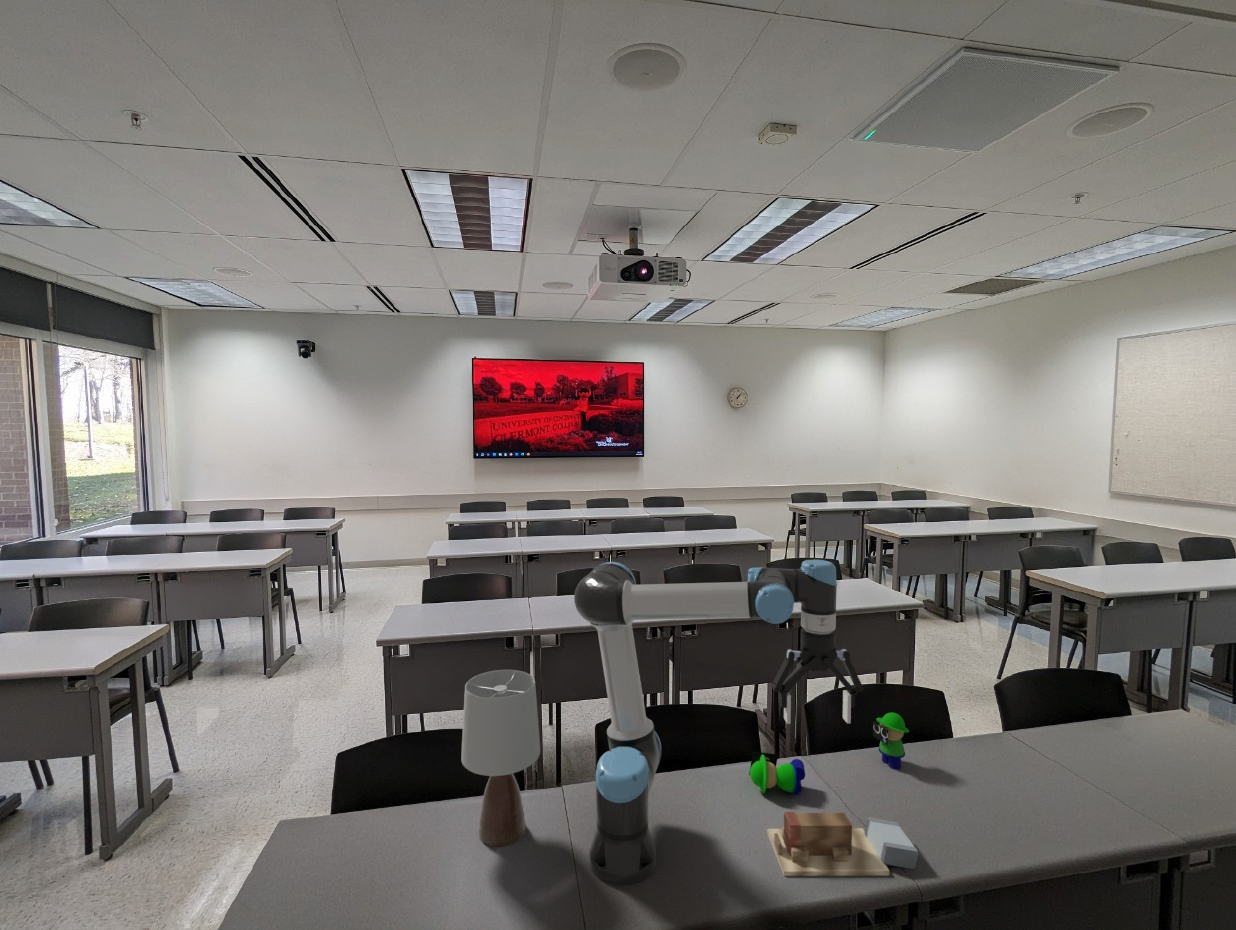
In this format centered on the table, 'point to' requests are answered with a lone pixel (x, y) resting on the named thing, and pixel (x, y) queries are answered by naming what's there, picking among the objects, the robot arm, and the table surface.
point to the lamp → (500, 747)
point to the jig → (829, 858)
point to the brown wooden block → (817, 832)
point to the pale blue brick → (891, 843)
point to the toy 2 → (890, 738)
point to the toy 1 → (776, 773)
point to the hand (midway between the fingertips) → (816, 721)
